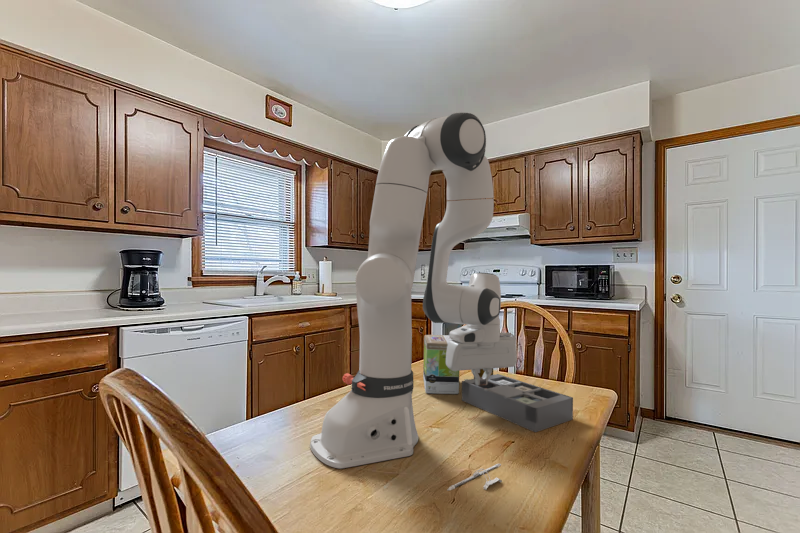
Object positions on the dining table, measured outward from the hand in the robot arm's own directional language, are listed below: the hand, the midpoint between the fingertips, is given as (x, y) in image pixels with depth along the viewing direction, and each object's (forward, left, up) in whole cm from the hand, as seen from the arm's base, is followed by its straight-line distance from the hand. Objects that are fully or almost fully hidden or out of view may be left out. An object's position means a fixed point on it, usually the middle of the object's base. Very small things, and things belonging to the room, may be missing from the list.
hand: (481, 384), depth 105 cm
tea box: (0, +17, -5) cm, 18 cm away
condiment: (+13, +13, -5) cm, 19 cm away
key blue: (+8, -14, -3) cm, 16 cm away
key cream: (+8, -8, -2) cm, 11 cm away
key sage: (+1, -14, -2) cm, 14 cm away
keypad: (+4, -8, -5) cm, 10 cm away
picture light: (-27, -28, -6) cm, 39 cm away
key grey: (+8, -1, -2) cm, 8 cm away
